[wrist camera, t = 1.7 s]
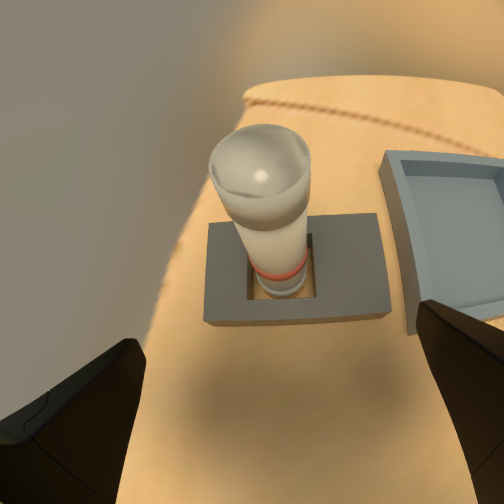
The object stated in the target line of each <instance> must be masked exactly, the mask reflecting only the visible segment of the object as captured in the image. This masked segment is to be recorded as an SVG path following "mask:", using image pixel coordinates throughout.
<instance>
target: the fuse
mask: <svg viewBox="0 0 504 504" xmlns="http://www.w3.org/2000/svg"><path fill="white" fill-rule="evenodd" d="M209 174H210V177H211V180H212V182H213V184H214V186H215V189H216V191H217V193H218V195H219V197H220V199H221V202H222V204H223V206H224V208H225V210H226V212H227V214H228V215H229V216H230V218H231V219H232V220H233V222H234V224H235V226H236V228H237V231H238V233H239V235H240V237H241V240H242V242H243V244H244V246H245V248H246V251H247V253H248V257H249V260H250V262H251V264H252V266H253V268H254V270H255V271H256V276H257V279H258V281H259V283H260V285H261V287H262V289H263V291H264V292H265V293H266V294H267V295H268V296H270V297H271V298H274V299H291V298H293V297H295V296H297V295H298V294H299V293H300V292H301V291H302V289H303V288H304V285H305V282H306V273H307V266H306V257H307V243H306V237H307V205H308V202H309V199H310V177H311V156H310V151H309V148H308V146H307V144H306V143H305V141H304V140H303V139H302V138H301V137H300V136H299V135H298V134H297V133H295V132H294V131H292V130H290V129H288V128H285V127H283V126H279V125H273V124H256V125H250V126H246V127H243V128H240V129H238V130H236V131H234V132H232V133H230V134H229V135H227V136H226V137H225V138H224V139H222V140H221V141H220V142H219V143H218V145H217V146H216V147H215V149H214V150H213V152H212V154H211V157H210V160H209Z"/></svg>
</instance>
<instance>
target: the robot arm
mask: <svg viewBox="0 0 504 504" xmlns="http://www.w3.org/2000/svg"><path fill="white" fill-rule="evenodd" d="M416 330H417V333H418V336H419V339H420V341H421V344H422V347H423V350H424V353H425V356H426V359H427V362H428V365H429V367H430V370H431V372H432V374H433V377H434V379H435V381H436V383H437V386H438V388H439V390H440V393H441V395H442V397H443V400H444V402H445V404H446V407H447V409H448V412H449V414H450V417H451V419H452V422H453V425H454V427H455V430H456V433H457V435H458V438H459V441H460V444H461V447H462V450H463V453H464V456H465V459H466V462H467V465H468V468H469V471H470V474H471V479H472V482H473V486H474V490H475V493H476V497H477V501H478V504H504V331H502V330H500V329H498V328H496V327H493V326H491V325H489V324H487V323H485V322H482V321H480V320H478V319H476V318H473V317H471V316H469V315H467V314H464V313H462V312H460V311H458V310H455V309H453V308H451V307H448V306H446V305H444V304H441V303H439V302H437V301H435V300H432V299H429V300H425V301H421V302H420V303H419V305H418V311H417V318H416ZM145 368H146V357H145V355H144V353H143V351H142V349H141V347H140V345H139V342H138V341H137V340H136V339H134V338H126V339H123V340H122V341H120V342H119V343H117V344H116V345H114V346H113V347H111V348H110V349H109V350H107V351H106V352H104V353H103V354H101V355H100V356H98V357H97V358H96V359H94V360H93V361H91V362H90V363H88V364H87V365H85V366H84V367H82V368H81V369H80V370H78V371H77V372H75V373H74V374H72V375H71V376H69V377H68V378H66V379H65V380H64V381H62V382H61V383H59V384H58V385H56V386H55V387H53V388H52V389H50V391H47V392H46V393H45V394H43V395H42V396H40V397H39V398H37V399H36V400H34V401H33V402H31V403H30V404H28V405H26V406H25V407H23V408H21V409H20V410H18V411H16V412H15V413H13V414H11V415H9V416H8V417H6V418H4V419H2V420H1V421H0V504H116V498H117V493H118V489H119V484H120V479H121V475H122V470H123V466H124V461H125V457H126V453H127V449H128V444H129V440H130V436H131V432H132V429H133V425H134V421H135V417H136V413H137V410H138V406H139V402H140V397H141V391H142V385H143V379H144V373H145Z"/></svg>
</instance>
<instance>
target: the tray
mask: <svg viewBox="0 0 504 504" xmlns="http://www.w3.org/2000/svg"><path fill="white" fill-rule="evenodd" d="M379 175H380V179H381V183H382V186H383V190H384V194H385V198H386V202H387V206H388V210H389V214H390V219H391V223H392V228H393V232H394V237H395V242H396V248H397V253H398V259H399V264H400V270H401V277H402V284H403V291H404V298H405V307H406V316H407V326H408V336H409V335H416V334H418V333H417V330H416V318H417V311H418V305H419V303H420V302H421V301H425V300H429V299H432V300H435V301H437V302H439V303H441V304H444V305H446V306H448V307H451V308H453V309H455V310H458V311H460V312H462V313H464V314H467V315H469V316H471V317H473V318H476V319H478V320H480V321H482V322H485V321H489V320H494V319H498V318H502V317H504V159H497V158H490V157H482V156H473V155H463V154H452V153H439V152H422V151H397V150H385V154H384V157H383V160H382V163H381V167H380V170H379Z"/></svg>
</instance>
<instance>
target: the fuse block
mask: <svg viewBox="0 0 504 504" xmlns="http://www.w3.org/2000/svg"><path fill="white" fill-rule="evenodd" d="M306 243H307V248H311V255H312V269H313V284H314V297H311V298H292V299H269V300H253V266H252V264H251V262H250V260H249V257H248V253H247V251H246V248H245V246H244V244H243V242H242V240H241V237H240V235H239V233H238V231H237V228H236V226H235V224H234V222H233V221H230V222H217V223H209V229H208V243H207V258H206V275H205V295H204V318H203V321H205V322H207V323H209V324H211V325H213V326H273V325H298V324H316V323H331V322H345V321H357V320H368V319H378V318H382V317H384V316H386V315H387V314H389V313H390V312H392V309H391V300H390V291H389V284H388V276H387V269H386V263H385V257H384V251H383V245H382V239H381V234H380V229H379V224H378V219H377V214H376V213H363V214H341V215H321V216H307V237H306Z"/></svg>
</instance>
